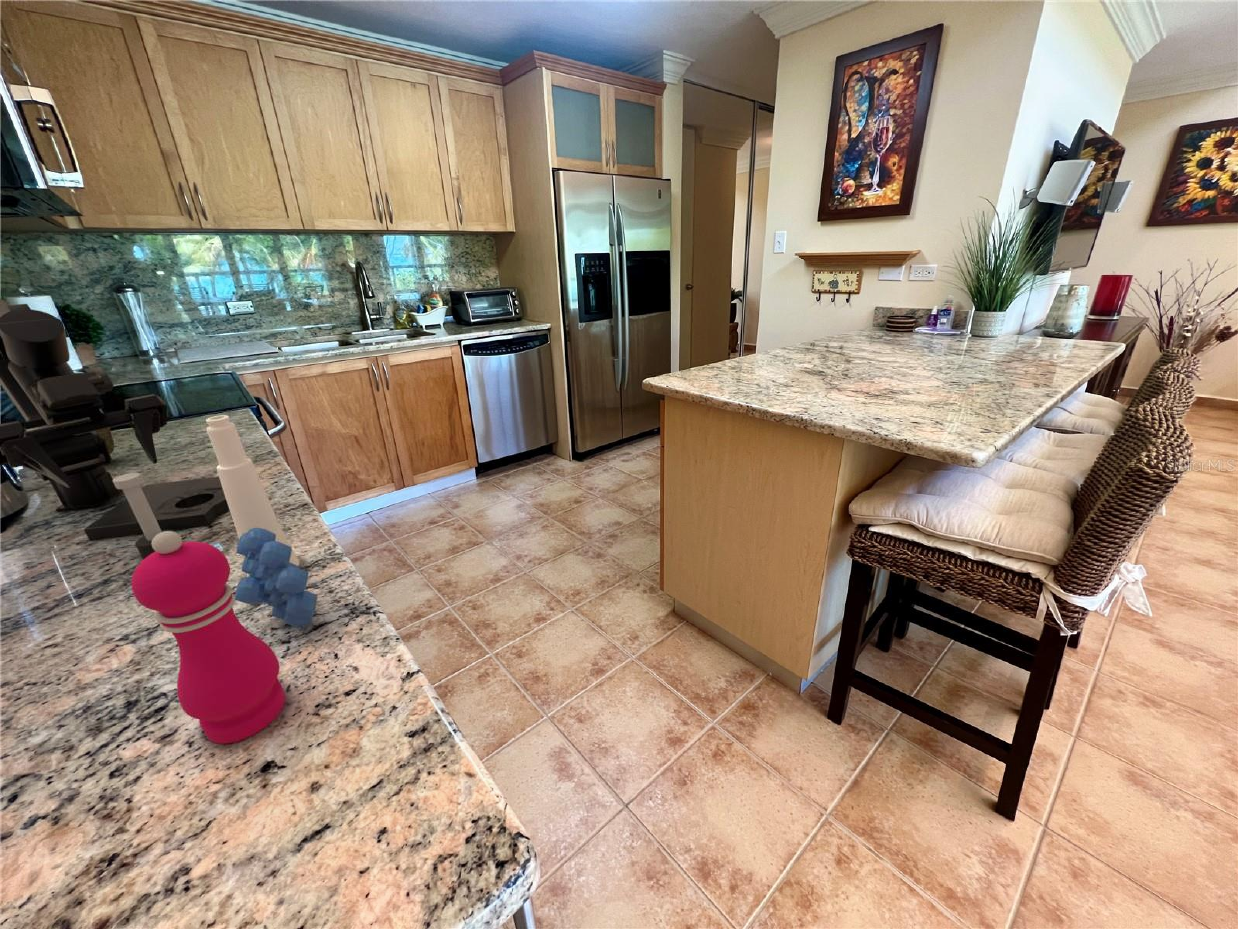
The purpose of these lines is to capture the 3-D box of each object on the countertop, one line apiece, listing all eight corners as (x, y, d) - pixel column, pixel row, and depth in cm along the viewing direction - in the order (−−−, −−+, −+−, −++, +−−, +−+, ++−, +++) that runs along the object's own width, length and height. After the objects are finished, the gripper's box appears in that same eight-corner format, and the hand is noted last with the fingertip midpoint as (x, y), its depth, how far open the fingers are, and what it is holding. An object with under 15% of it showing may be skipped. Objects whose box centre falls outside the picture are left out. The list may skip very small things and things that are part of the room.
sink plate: (89, 540, 76) (83, 529, 75) (151, 494, 90) (146, 484, 89) (215, 524, 79) (211, 513, 79) (255, 482, 94) (252, 472, 93)
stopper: (135, 563, 70) (95, 486, 65) (153, 546, 74) (117, 472, 69) (171, 557, 71) (135, 481, 66) (187, 541, 75) (154, 468, 70)
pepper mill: (231, 686, 50) (149, 512, 41) (306, 680, 50) (239, 507, 42) (179, 753, 43) (69, 563, 35) (265, 746, 43) (177, 556, 35)
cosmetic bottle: (236, 579, 66) (172, 423, 57) (279, 554, 71) (225, 408, 62) (269, 588, 64) (207, 428, 55) (310, 562, 69) (259, 412, 60)
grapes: (228, 623, 58) (189, 536, 53) (288, 591, 63) (258, 509, 58) (278, 662, 52) (240, 568, 47) (340, 623, 58) (311, 535, 53)
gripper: (-66, 366, 59) (6, 468, 58) (135, 340, 73) (195, 422, 72) (-41, 419, 66) (23, 511, 65) (138, 386, 80) (192, 461, 79)
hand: (115, 473), depth 70 cm, fingers open, 9 cm apart
